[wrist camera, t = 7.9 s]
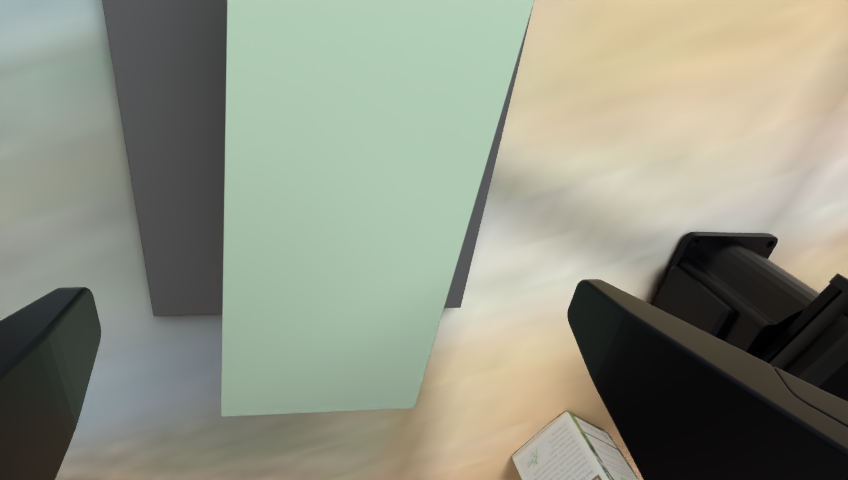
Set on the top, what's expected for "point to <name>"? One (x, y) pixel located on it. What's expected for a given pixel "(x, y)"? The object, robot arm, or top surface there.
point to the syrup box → (572, 453)
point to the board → (351, 190)
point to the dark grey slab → (198, 147)
